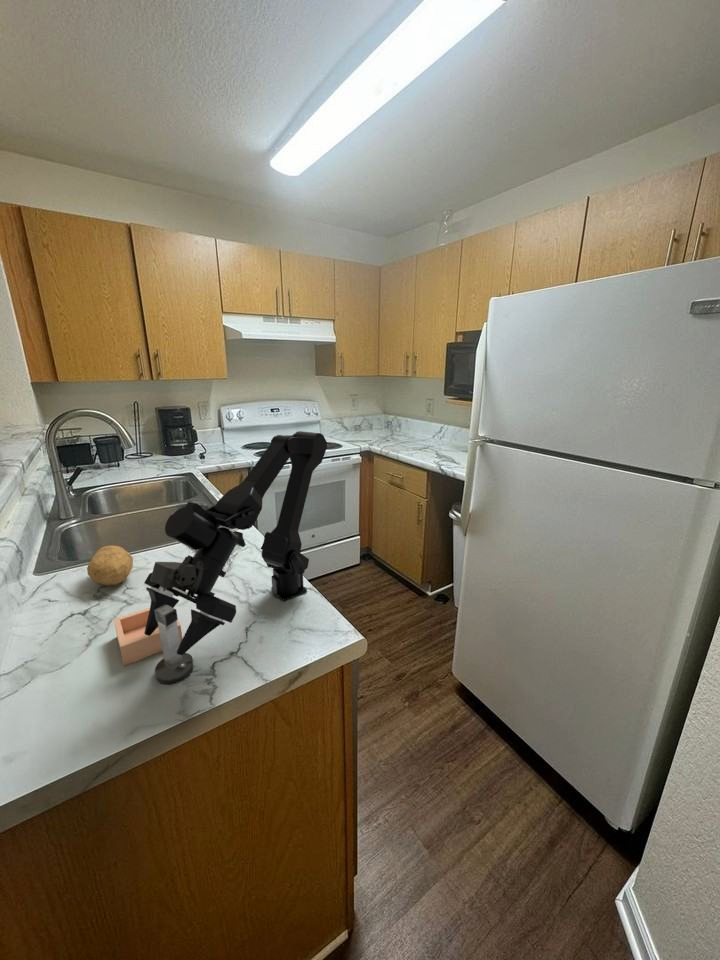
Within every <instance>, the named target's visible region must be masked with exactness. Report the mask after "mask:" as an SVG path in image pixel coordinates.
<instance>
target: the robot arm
mask: <svg viewBox="0 0 720 960" xmlns="http://www.w3.org/2000/svg"><path fill="white" fill-rule="evenodd" d="M327 450H328V442H327V439H326V437H325V436H324V435H323V433H320V432H311V431H300V430H299V431H298V430H297V431H296V432H295V433H293V434H291V435H288V434H284V435H283V434H277V435H275V436H272V437H271V441H270V443H269V446H268V447H267V448H266V450H265V451H264V452H263V454H262V455H261V456H260V458H259V459H258V460H257V462H256V463H255V465H254V466H253V467H252V468H251V470H250V471H249V473H248V474H247V475H246V476H245V478H244V479H243V481H242V482H241V483H239V484H238V485H236V486H235V487H233V488H231V489H229V490H228V491H227V492H226V493H225V494H223V496H222V497H220V498H219V499H218V501H217V503H216V504H214V505H211V506H210V507H208V508H206V509H204V508H203V506H201V505H200V504H199V503H197V502H193V501H188V502H186V505H185V506H183V507H180V508H179V509H177V510H176V511H174V513H172V514H170V515H169V516H168V518H167V520H166V523H165V525H164V532H165V535H166V536H167V537H169V538H171V539H173V540H174V541H177V542H179V543H180V544H182V545H184V546H186V547H187V548H190V549H192V550H196V551H195V553H194V555H193V556H191V555H189V554H188V555H187V556H186V557H184V559H183V561H182V562H178V561H155V562H154V564H153V565H154V566H153V569H152V572H150V573H149V574H148V575H147V577H146V578H145V581H144V582H143V584H144V585H147V586H148V587H146V588H145V589H146V592H148V594H149V597H150V606H149V608H150V611H149V615H148V619H147V624H146V628H145V632H144V634H145V635H148V636H150V635H151V634H152V633H153V632H154V631H155V630H156V629H157V627H158V621H156V617H155V611H154V610H155V609H157V608H159V607H161V606H163V605H165V604H166V605H168V606H170V607H172V608H174V609H175V607H176V606H177V604H178V603H179V602H180V599H178V598H175V597H181V598H182V599H185V600H187V601H189V602H191V603H193V604H195V608H196V609H197V610H194V609H191V610H190V615H191V620H190V623H189V626H188V627H187V630H186V632H185V633H184V635H183V636H182V641H181V643H180V645H179V648H178V650H177V654H179V655H183V654H184V653H187V652H188V651H189V650H190V649H191V648H193V647H194V646H195V645H196V644H197V643H198V642H200V641H201V640H202V639H203V638H205V636H207V635H208V634H210V633H211V632H212V631H214V629H215V630H216V629H217V628H218V627H219V626H220V625H221V626H225V624H226V622H228V623H230V624H232V622H233V620H234V618H235V616H236V614H237V606H236V605H235V604H233V603H231V602H228V601H227V600H224V599H222V598H219V597H218V596H215V595H216V593H215V592H212V590H213V588H214V586H215V585H216V583H217V581H218V579H219V578H220V577H221V578H225V576H226V574H227V572H226V571H224V566H225V565H226V564H227V562H229V561H228V559H230V558H231V556H232V555H231V554H232V553H233V551H234V549H235V548H236V546H238V547H242V548H245V547H246V542H245V539H244V534H243V532H240V531H241V530H243V531H244V530H249V529H251V528H252V527H253V526H254V525H255V523H256V521H257V519H258V518H259V515H260V513H261V512H262V509H263V498H264V496H265V495H266V492H267V491H268V490H269V488H270V487H271V486H272V484H273V482H274V481H275V479H276V478H277V477H278V475H279V474H280V473H281V471H282V469H283V468H284V467H285V465H286V463H287V462H288V460H289V459H290V462H291V469H290V473H289V478H288V481H287V483H286V489H285V493H284V497H283V501H282V504H281V508H280V513H279V517H278V520H277V525H276V527H274V529H272V531H271V532H269V531H267V532H265V534H264V536H263V537H264V538H263V543H262V546H261V547H260V550H261V558H262V559H263V562H264V563H265V564H266V566H267V568H271V569H272V575H271V588H270V589H271V591H272V592H273V593H274V594H275V595H276V596H277V597H278V598H279V599H280V600H282V601H287V600H290V599H292V598H295V597H297V596H299V595H303V594H304V593H305V594H306V593H307V592H308V589H307V588H306V587H305V586H304V573H305V571H306V570H307V569H308V568H309V564H310V563H309V562H310V559H309V557H306V555H303V553H301V552H302V546H303V545H302V541H301V536H300V533H299V528H300V524H301V520H302V517H303V512H304V508H305V505H306V500H307V496H308V492H309V488H310V484H311V480H312V475H313V473H314V471H315V469H316V468H318V466H319V465H320V464H321V463H322V462H323V460H324V456H325V454H326V451H327ZM219 526H221V527H219ZM230 529H232V530H233V529H237V530H233V531H232V530H230ZM238 530H240V531H238ZM229 557H230V558H229ZM225 567H226V566H225ZM186 591H187V592H186ZM173 596H175V597H173Z"/></svg>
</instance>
